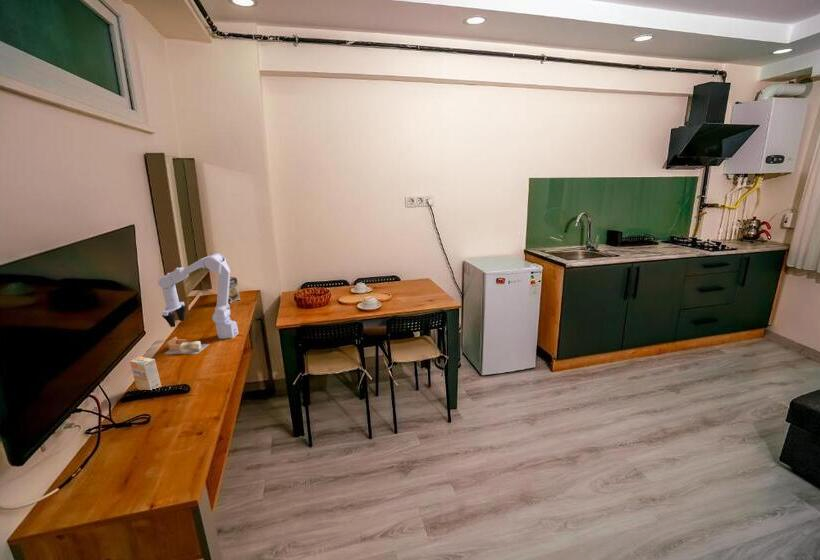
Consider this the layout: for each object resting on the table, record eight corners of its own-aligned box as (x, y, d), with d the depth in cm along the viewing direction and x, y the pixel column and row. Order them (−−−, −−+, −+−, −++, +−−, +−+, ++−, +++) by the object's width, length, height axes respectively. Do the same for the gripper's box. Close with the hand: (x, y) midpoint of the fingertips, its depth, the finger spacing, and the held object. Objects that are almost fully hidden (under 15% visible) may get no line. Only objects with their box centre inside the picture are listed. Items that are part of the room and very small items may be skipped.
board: (210, 345, 187) (210, 344, 187) (198, 355, 178) (197, 353, 178) (178, 345, 189) (178, 343, 188) (164, 354, 179) (164, 353, 179)
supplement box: (136, 390, 150) (128, 361, 147) (148, 383, 155) (140, 355, 151) (151, 393, 148) (143, 364, 144) (162, 387, 152) (155, 358, 148)
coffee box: (228, 304, 244) (224, 281, 240) (222, 303, 248) (218, 280, 243) (240, 300, 252) (236, 277, 247) (234, 299, 255) (230, 276, 250)
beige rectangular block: (201, 348, 183) (200, 340, 182) (199, 351, 180) (197, 343, 179) (184, 350, 182) (182, 342, 180) (181, 353, 179) (179, 345, 178)
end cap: (187, 344, 187) (185, 336, 186) (179, 350, 181) (177, 342, 180) (177, 344, 187) (175, 336, 186) (168, 350, 182) (166, 342, 180)
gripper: (172, 294, 194) (178, 318, 198) (154, 303, 181) (160, 329, 184) (186, 293, 194) (191, 317, 198) (168, 303, 180) (174, 329, 184)
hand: (177, 323), depth 191 cm, fingers open, 7 cm apart
